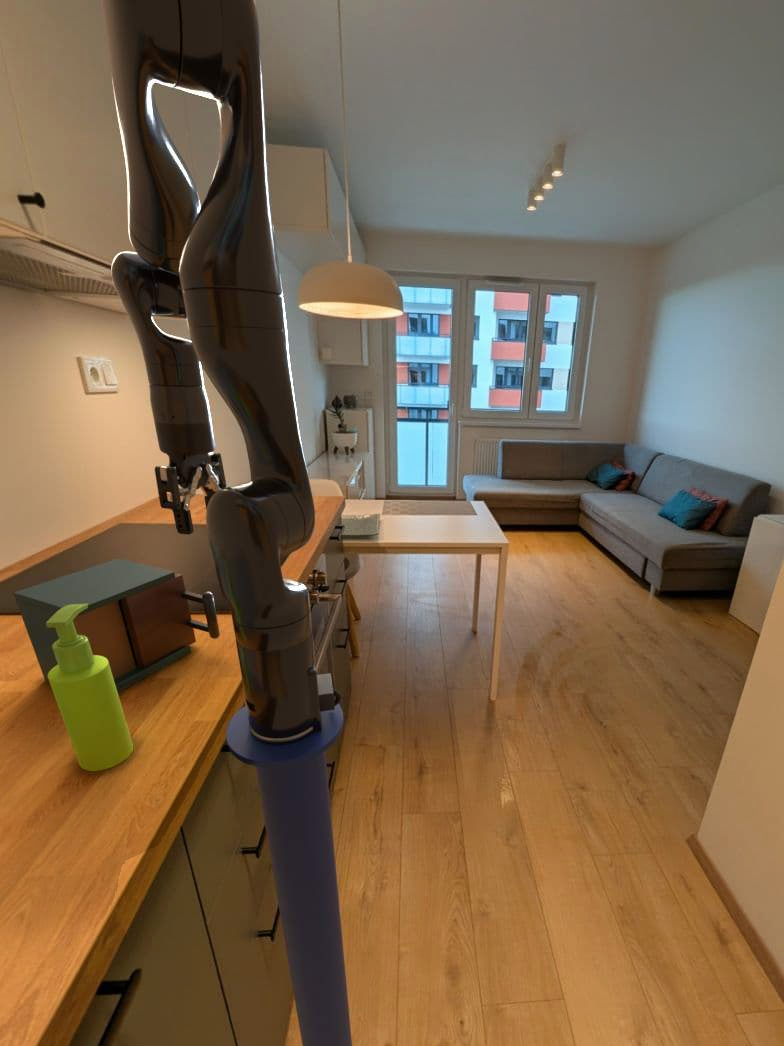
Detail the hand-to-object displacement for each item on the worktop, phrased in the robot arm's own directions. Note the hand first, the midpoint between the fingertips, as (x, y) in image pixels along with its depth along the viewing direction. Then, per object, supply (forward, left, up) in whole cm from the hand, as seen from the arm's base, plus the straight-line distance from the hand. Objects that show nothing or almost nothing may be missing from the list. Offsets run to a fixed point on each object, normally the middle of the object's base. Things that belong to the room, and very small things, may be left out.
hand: (201, 525), depth 81 cm
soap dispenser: (+11, +25, -22) cm, 35 cm away
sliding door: (+6, +4, -21) cm, 22 cm away
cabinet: (+15, +3, -22) cm, 27 cm away
